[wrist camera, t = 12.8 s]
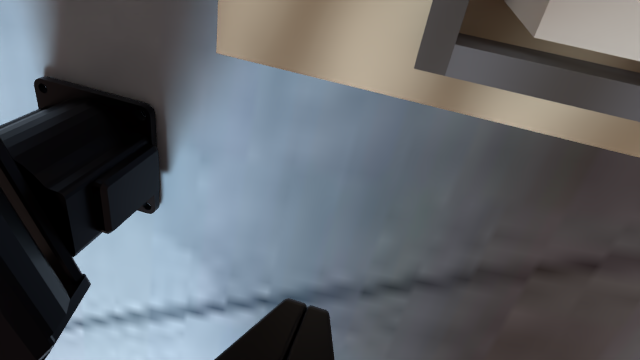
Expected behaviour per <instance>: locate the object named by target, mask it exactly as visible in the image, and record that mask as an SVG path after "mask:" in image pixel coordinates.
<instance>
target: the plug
mask: <svg viewBox="0 0 640 360" xmlns="http://www.w3.org/2000/svg"><path fill="white" fill-rule="evenodd" d="M504 1H505V2H506V4H507V5H508V6H509V7H510V9H511V10H512V11H513V12H514V14H515V15H516V16H517V17H518V19H519V20H520V21H521V22H522V23H523V25H524V26H525V27H526V28H527V30H528V31H529V32H530V33H531V35H532V36H533V37H534V38H538V39H542V40H547V41H551V42H556V43H560V44H565V45H569V46H574V47H578V48H583V49H587V50H592V51H596V52H600V53H605V54H609V55H614V56H618V57H623V58H627V59H632V60H636V61H640V0H504Z"/></svg>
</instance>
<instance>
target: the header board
mask: <svg viewBox="0 0 640 360" xmlns="http://www.w3.org/2000/svg"><path fill="white" fill-rule="evenodd" d="M216 53H218V54H222V55H226V56H230V57H234V58H238V59H243V60H247V61H251V62H255V63H259V64H263V65H267V66H271V67H275V68H279V69H283V70H287V71H291V72H295V73H299V74H303V75H307V76H311V77H316V78H320V79H324V80H328V81H332V82H336V83H340V84H344V85H348V86H352V87H356V88H360V89H364V90H368V91H372V92H376V93H380V94H384V95H388V96H393V97H397V98H401V99H405V100H409V101H413V102H417V103H421V104H425V105H429V106H433V107H437V108H441V109H445V110H449V111H453V112H457V113H461V114H465V115H470V116H474V117H478V118H482V119H486V120H490V121H494V122H498V123H502V124H506V125H510V126H514V127H518V128H522V129H526V130H530V131H534V132H538V133H543V134H547V135H551V136H555V137H559V138H563V139H567V140H571V141H575V142H579V143H583V144H587V145H591V146H595V147H599V148H603V149H607V150H611V151H615V152H620V153H624V154H628V155H632V156H636V157H640V61H636V60H632V59H627V58H623V57H618V56H614V55H609V54H605V53H600V52H596V51H592V50H587V49H583V48H578V47H574V46H569V45H565V44H560V43H556V42H551V41H547V40H542V39H538V38H534V37H533V36H532V35H531V33H530V32H529V31H528V30H527V28H526V27H525V26H524V25H523V23H522V22H521V21H520V20H519V19H518V17H517V16H516V15H515V14H514V12H513V11H512V10H511V9H510V7H509V6H508V5H507V4H506V2H505V1H504V0H218V19H217V49H216Z"/></svg>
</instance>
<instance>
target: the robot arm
mask: <svg viewBox="0 0 640 360" xmlns="http://www.w3.org/2000/svg"><path fill="white" fill-rule="evenodd" d="M45 86H46V87H47V88H46V87H45ZM34 87H35V92H36V97H37V102H38V107H39V109H38V110H36V111H33V112H31V113H29V114H26V115H24V116H22V117H19V118H17V119H15V120H12V121H10V122H8V123H5V124H3V125H1V126H0V360H45V358H46V357H47V355H48V354H49V353H50V351H51V349H52V348H53V346H54V344H55V343H56V341H57V339H58V338H59V336H60V335H61V333H62V331H63V330H64V328H65V326H66V325H67V323H68V321H69V320H70V318H71V316H72V315H73V313H74V311H75V310H76V308H77V307H78V305H79V303H80V302H81V300H82V298H83V297H84V295H85V293H86V292H87V290H88V288H89V287H90V285H91V283H90V282H89V280H88V278H87V277H86V275H85V274H82V273H81V271H80V269H79V268H78V266H77V264H76V263H75V261H74V259H73V258H72V257H74V256H76V255H77V254H78V253H79V252H80V251H81V250H83V249H84V248H85V247H86V246H87V245H88V244H89V243H91V242H92V241H93V240H94V239H95V238H96V237H98V236H99V235H100V234H101V233H102V232H103V233H107V234H109V233H111V232H112V231H114V230H115V229H116V228H117V227H118V226H120V225H121V224H122V223H123V222H124V221H125V220H126V219H127V218H129V217H130V216H131V215H132V214H133V213H134V212H135V211H136V210H138V211H141V212H145V213H149V214H151V213H154V212H155V211H156V210H157V209H158V208H159V190H160V181H159V158H158V150H157V143H156V121H155V112H154V110H153V108H152V107H151V106H150V105H149V104H146V103H143V102H140V101H136V100H132V99H129V98H125V97H121V96H117V95H114V94H110V93H106V92H103V91H99V90H95V89H91V88H88V87H84V86H80V85H77V84H73V83H69V82H66V81H62V80H58V79H54V78H51V77H46V76H44V77H41V78H38V79H36V80H35V82H34ZM141 111H143V112H144V113H145V115H146V117H145V116H144V115H143V114H142V112H141ZM148 203H149V204H150V205H151V206H150V205H149V204H148ZM215 360H334V352H333V343H332V334H331V326H330V317H329V313H328V311H327V310H324V309H321V308H318V307H315V306H311V305H310V306H308V307H307V306H306V304H305V303H302V302H299V301H296V300H293V299H289V298H288V299H285V300H283V301H282V302H281V303H280V304H279V305H278V306H276V307H275V308H274V309H273V310H272V311H271V312H269V313H268V314H267V315H266V316H265V317H264V318H262V319H261V320H260V321H259V322H258V323H257V324H255V325H254V326H253V327H252V328H251V329H250V330H248V331H247V332H246V333H245V334H244V335H243V336H241V337H240V338H239V339H238V340H237V341H236V342H234V343H233V344H232V345H231V346H230V347H229V348H227V349H226V350H225V351H224V352H223V353H222V354H220V355H219V356H218V357H217V358H216V359H215Z"/></svg>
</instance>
